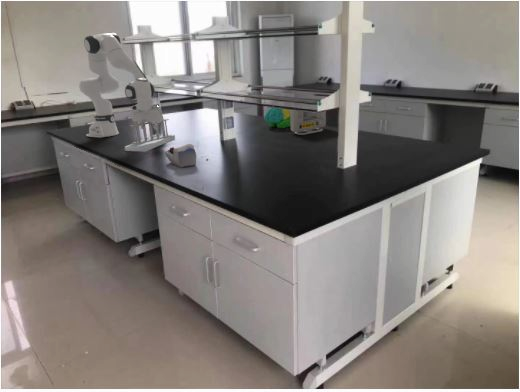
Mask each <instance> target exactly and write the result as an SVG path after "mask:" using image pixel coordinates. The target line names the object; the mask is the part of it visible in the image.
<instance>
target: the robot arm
mask: <svg viewBox="0 0 520 392" xmlns="http://www.w3.org/2000/svg"><path fill="white" fill-rule="evenodd" d="M83 43H84V44H83V45H84V48H85V50H86V52H87V56H88V58H87V59H88V68H89V70H90V71H91V72H92V73H93V74H95V75H98V76H97V77H88V78H85V79H82V80H80V82H79V91H80V92H81V93H82V94H83V95H85V97H87V98H88V99H90V101H91V102H92V104H93V106H94V110H95V114H96V115H95V116H94V115H93V118H94V119H95V120H94V121H93V122H92V124H91V125H90V126H89V128H88V130H89V131H88V132H89V133H86V137H91V138H100V139H101V138H105V137H111V136H116V135H119V134H120V132H119V131H118V127H117V124H116V121H115V119H116V118H115V113H114V111H113V105H112V102H111V101H110V100H108V99H107V98H103V96H102V95H104V94H112V93H115V92H118V91H119V88H120V82H119V80H118V79H117V77H115V76H113V74H111V72H110V71H109V67H108V62H109V64H110V65H111V66H112V67H113V68H115V69H119V70H123V71H127V72H129V73H131V75H133V76H134V81H133V82H132V83H129V84H127V85H126V86H125V88H124V94H125V95H124V96H125V97H126V98H127V100H129V101H137V103H136V104H135V105H134V104H133V105H132V106H130V109H131V112H130V113H131V114H130V115H131V120H132V122H134V123H135V121H138V124H140V123H142V120H144V121H145V123H146V122H154V123H153V124H154V125H152V130H156V129H157V124H158V125H159V123H161V122H162V121H163V119H164V115H163V112H162V108H161V107H160V106H159V105H156V106H155V105H154V101H153V96H154V94H155V92H156V91H155V87H154V85H153V84H152V83H151V81H149V79H148V78H147V76H146V75H145V73H144V72H143V71H142V69H141V68H140V66H139V65H138V64H137V62H136V61H135V60H134V59H132V58H131V57H130V56H129V55H128V54H127V53H126V51H125V50H124V48H123V45H122V44H121V39H120V37H119V35H118V34H117V33H115V32H109V33H108V32H106V33H104V32H103V33H98V34H93V35H87V36H86V37H85V38H84V40H83ZM107 61H108V62H107ZM140 129H141V130H143V127H142V125H141V126H140Z"/></svg>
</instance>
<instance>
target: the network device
mask: <svg viewBox="0 0 520 392" xmlns="http://www.w3.org/2000/svg"><path fill="white" fill-rule="evenodd" d="M290 123H291V126H290V131H292V132H294V134H295V135H300V136H301V135H308V134H314V133H318V132H322V131H324V129H323V128H325V127H326V126H327V125H326V124H327V110H326V111H324V112H319V113H312V112H304V111H296V110H290Z"/></svg>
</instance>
